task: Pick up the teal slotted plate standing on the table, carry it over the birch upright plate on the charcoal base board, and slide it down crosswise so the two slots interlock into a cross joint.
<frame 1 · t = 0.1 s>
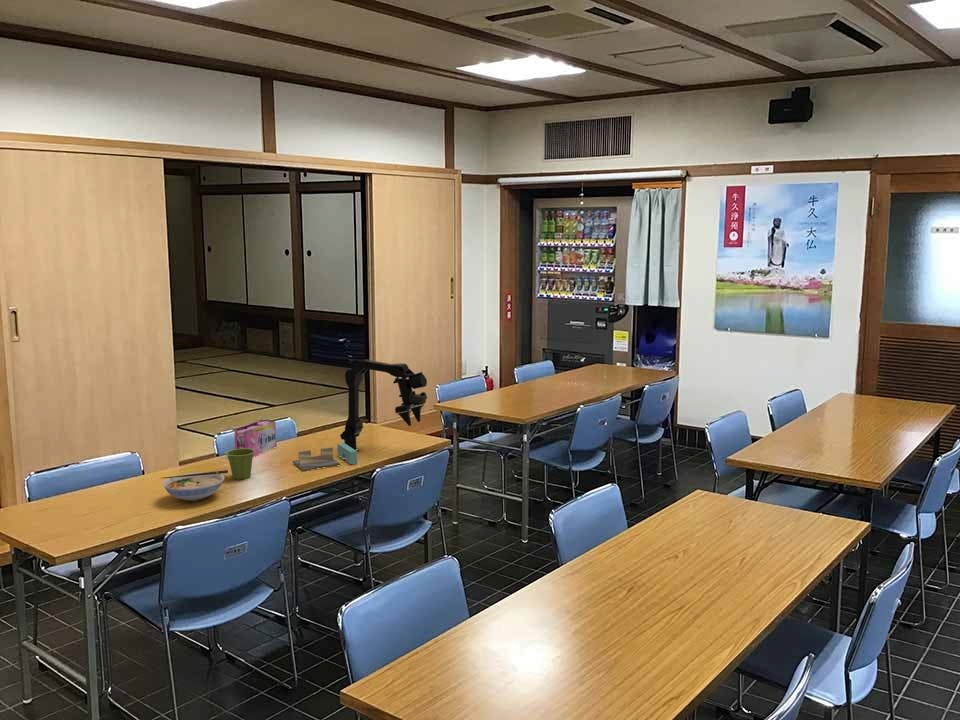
hand: (414, 423, 368), 15 cm above the table, tool pointing down, fingers open, 9 cm apart
plant pot: (241, 478, 340), on the table
gum box: (256, 453, 382), on the table
ramen bowl: (195, 499, 313), on the table
teal slotted plate: (347, 460, 366), on the table
slotted base: (316, 464, 359), on the table
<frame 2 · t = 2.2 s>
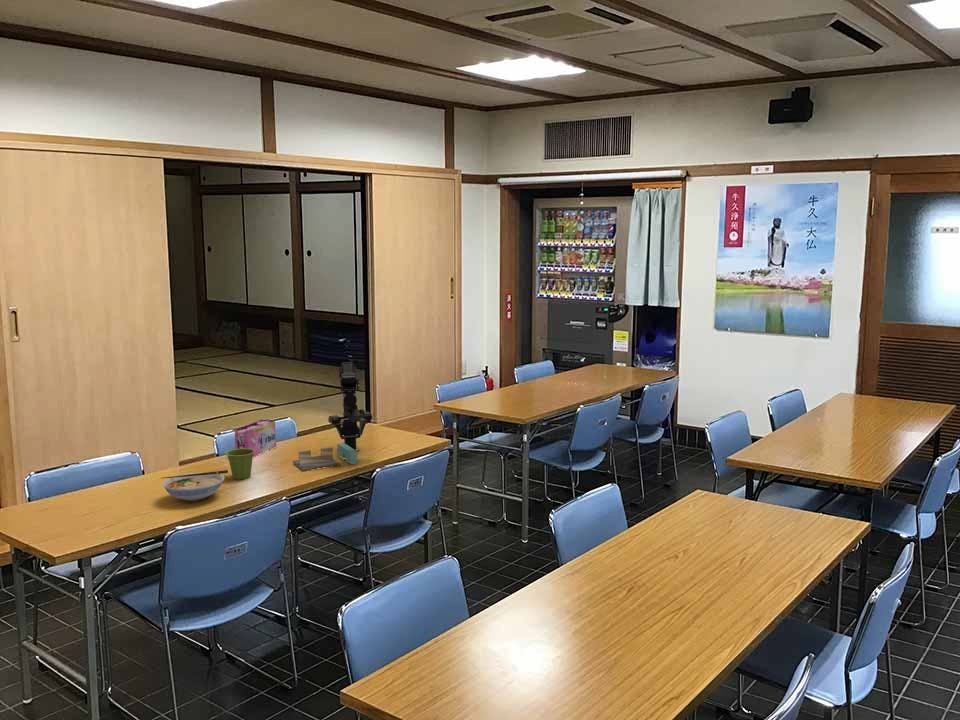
hand: (351, 436, 359), 12 cm above the table, tool pointing down, fingers open, 9 cm apart
nothing on the table moved.
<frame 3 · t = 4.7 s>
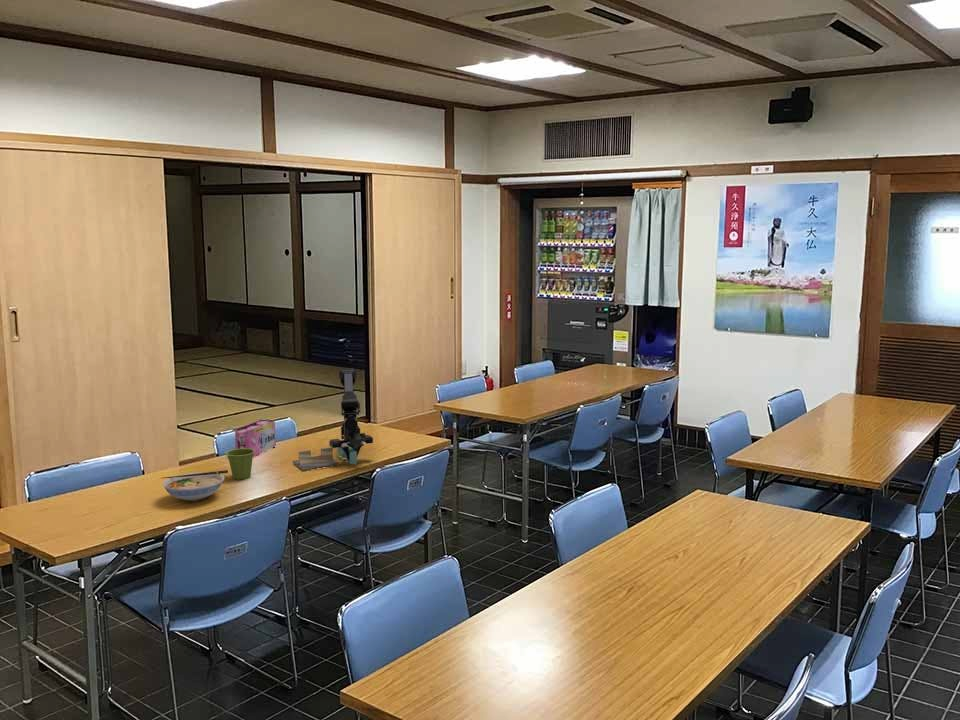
hand: (351, 460, 360), 2 cm above the table, tool pointing down, fingers closed on teal slotted plate, 3 cm apart
teal slotted plate: (347, 460, 366), on the table, touching gripper
everything else where it was.
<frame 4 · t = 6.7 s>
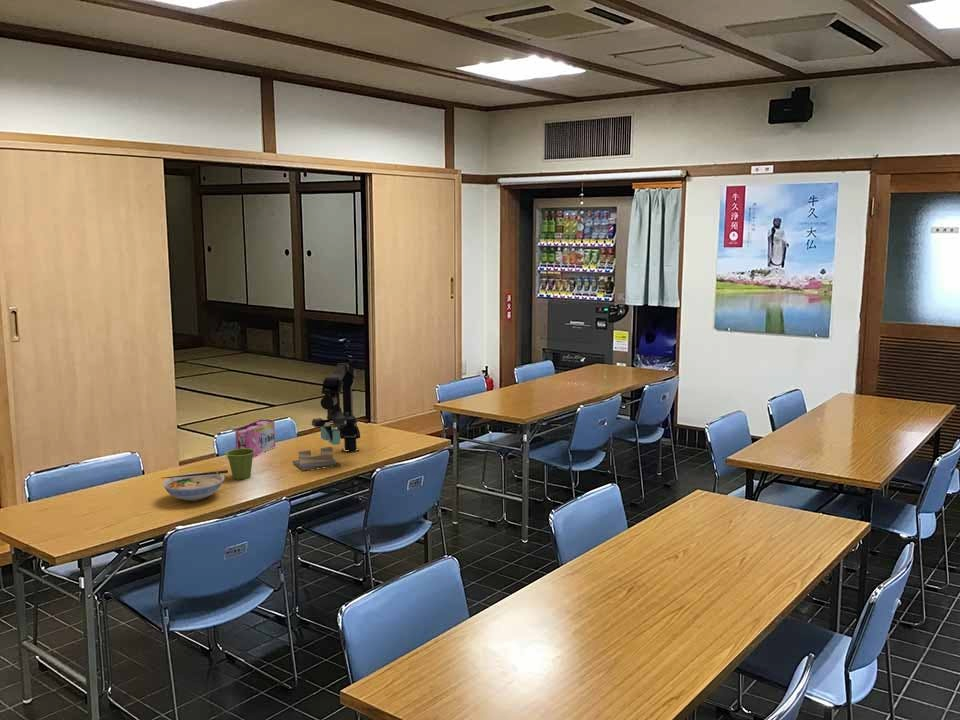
hand: (334, 439, 355), 12 cm above the table, tool pointing down, fingers closed on teal slotted plate, 3 cm apart
teal slotted plate: (330, 440, 361), point 10 cm above the table, touching gripper
everything else where it was.
when the fingers open (3 cm above the table, at t = 9.1 s): teal slotted plate stays where it is, resting on slotted base.
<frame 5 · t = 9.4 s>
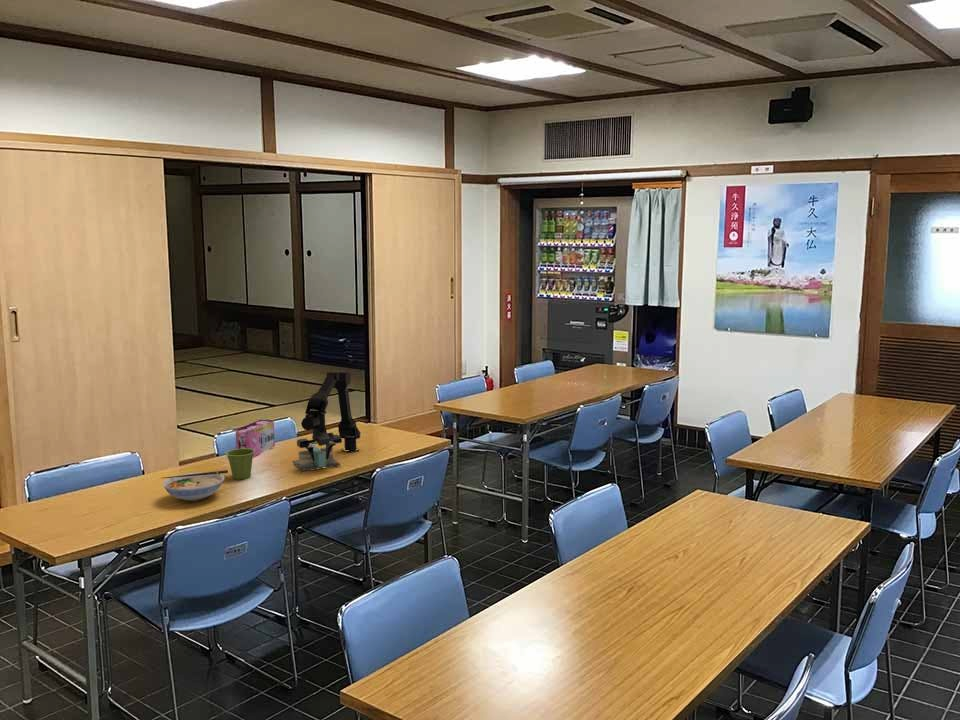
hand: (320, 460, 353), 3 cm above the table, tool pointing down, fingers open, 6 cm apart
teal slotted plate: (316, 462, 359), point 1 cm above the table, touching slotted base
everything else where it was.
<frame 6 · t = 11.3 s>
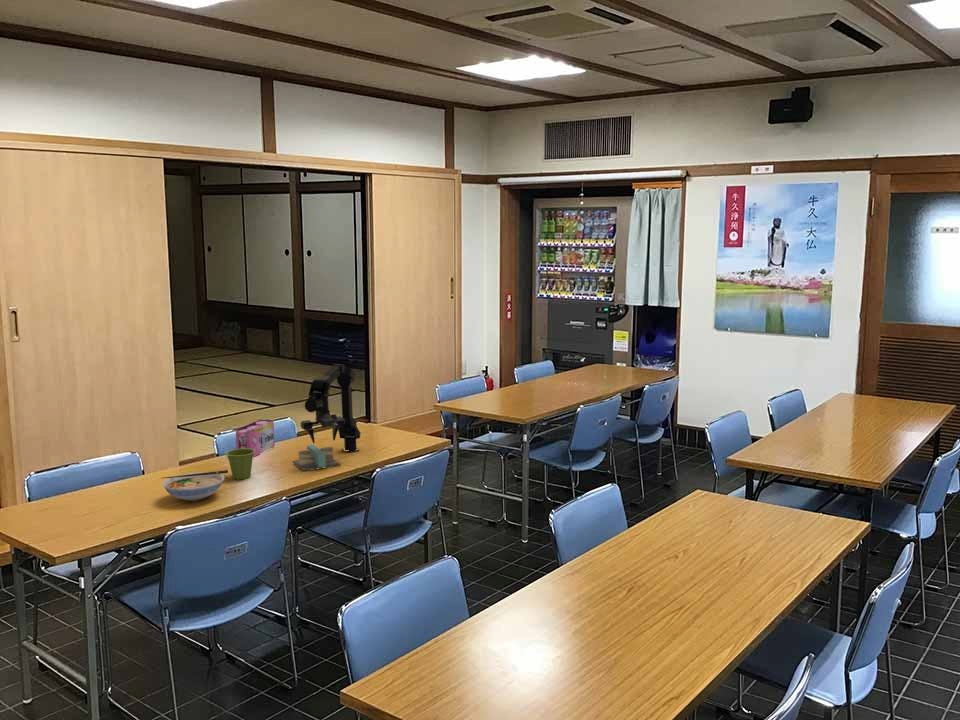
hand: (323, 441, 356), 11 cm above the table, tool pointing down, fingers open, 9 cm apart
nothing on the table moved.
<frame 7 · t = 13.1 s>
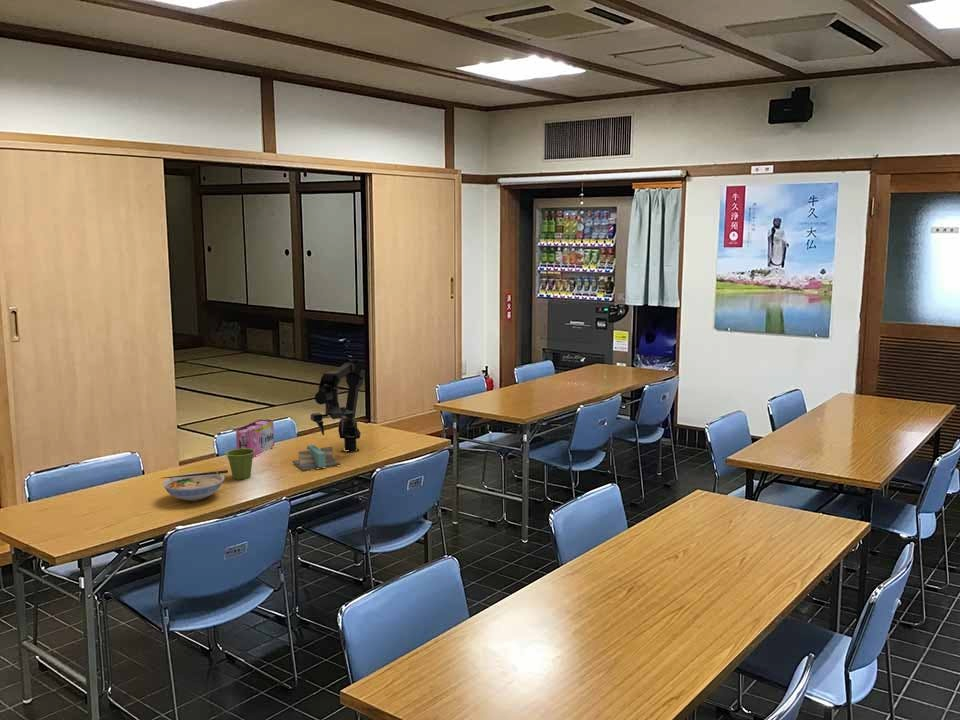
hand: (333, 433, 366), 12 cm above the table, tool pointing down, fingers open, 9 cm apart
nothing on the table moved.
at the end: teal slotted plate 0.2 cm off-centre on the slotted base, point 1.0 cm above the slotted base's base; teal slotted plate tilted 0°; the gripper is holding nothing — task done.
